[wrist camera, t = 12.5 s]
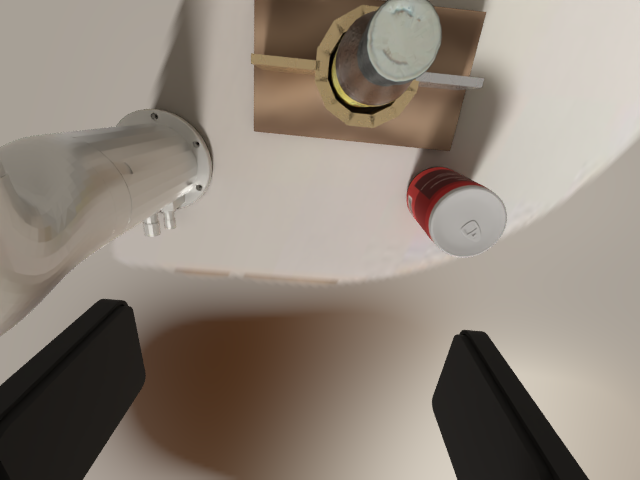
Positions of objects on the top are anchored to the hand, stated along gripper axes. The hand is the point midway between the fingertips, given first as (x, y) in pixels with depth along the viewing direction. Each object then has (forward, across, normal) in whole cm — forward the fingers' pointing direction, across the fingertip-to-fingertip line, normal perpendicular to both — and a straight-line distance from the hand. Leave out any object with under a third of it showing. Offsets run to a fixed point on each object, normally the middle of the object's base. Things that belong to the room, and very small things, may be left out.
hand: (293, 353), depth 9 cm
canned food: (+34, -16, +3) cm, 37 cm away
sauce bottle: (+32, -4, -10) cm, 34 cm away
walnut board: (+33, -4, -10) cm, 35 cm away
